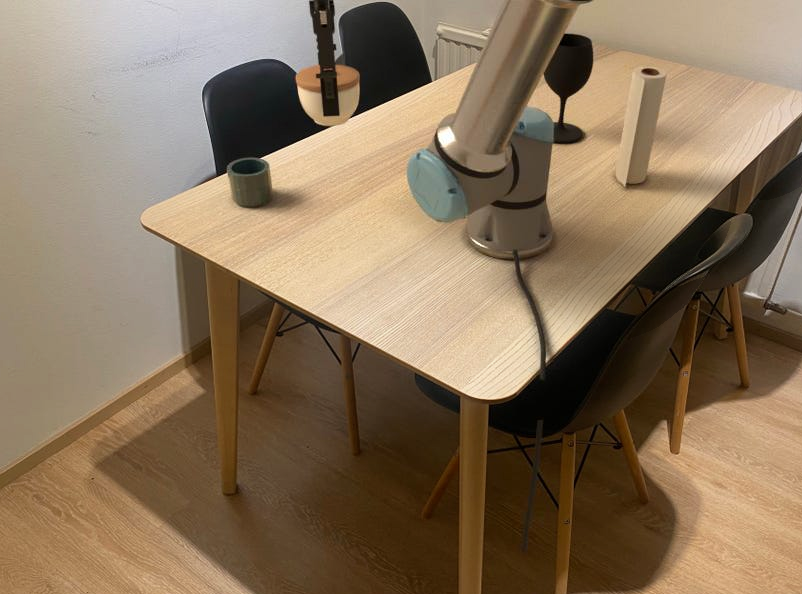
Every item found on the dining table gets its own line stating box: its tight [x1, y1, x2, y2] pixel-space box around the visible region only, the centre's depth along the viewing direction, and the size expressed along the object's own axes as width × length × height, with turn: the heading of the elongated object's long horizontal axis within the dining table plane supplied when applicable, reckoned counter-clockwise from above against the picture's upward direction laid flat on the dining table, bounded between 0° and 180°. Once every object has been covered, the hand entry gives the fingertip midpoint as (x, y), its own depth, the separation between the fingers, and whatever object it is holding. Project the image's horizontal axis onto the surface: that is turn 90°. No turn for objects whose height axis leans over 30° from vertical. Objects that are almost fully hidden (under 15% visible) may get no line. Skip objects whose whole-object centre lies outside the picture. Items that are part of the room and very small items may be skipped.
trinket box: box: [295, 63, 361, 127], centre depth 132 cm, size 11×11×9 cm
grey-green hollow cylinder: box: [226, 157, 274, 208], centre depth 143 cm, size 8×8×6 cm
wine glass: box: [542, 33, 594, 144], centre depth 164 cm, size 10×10×20 cm
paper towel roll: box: [615, 66, 667, 188], centre depth 148 cm, size 7×6×21 cm
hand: (330, 102), depth 133 cm, fingers closed on trinket box, 11 cm apart
